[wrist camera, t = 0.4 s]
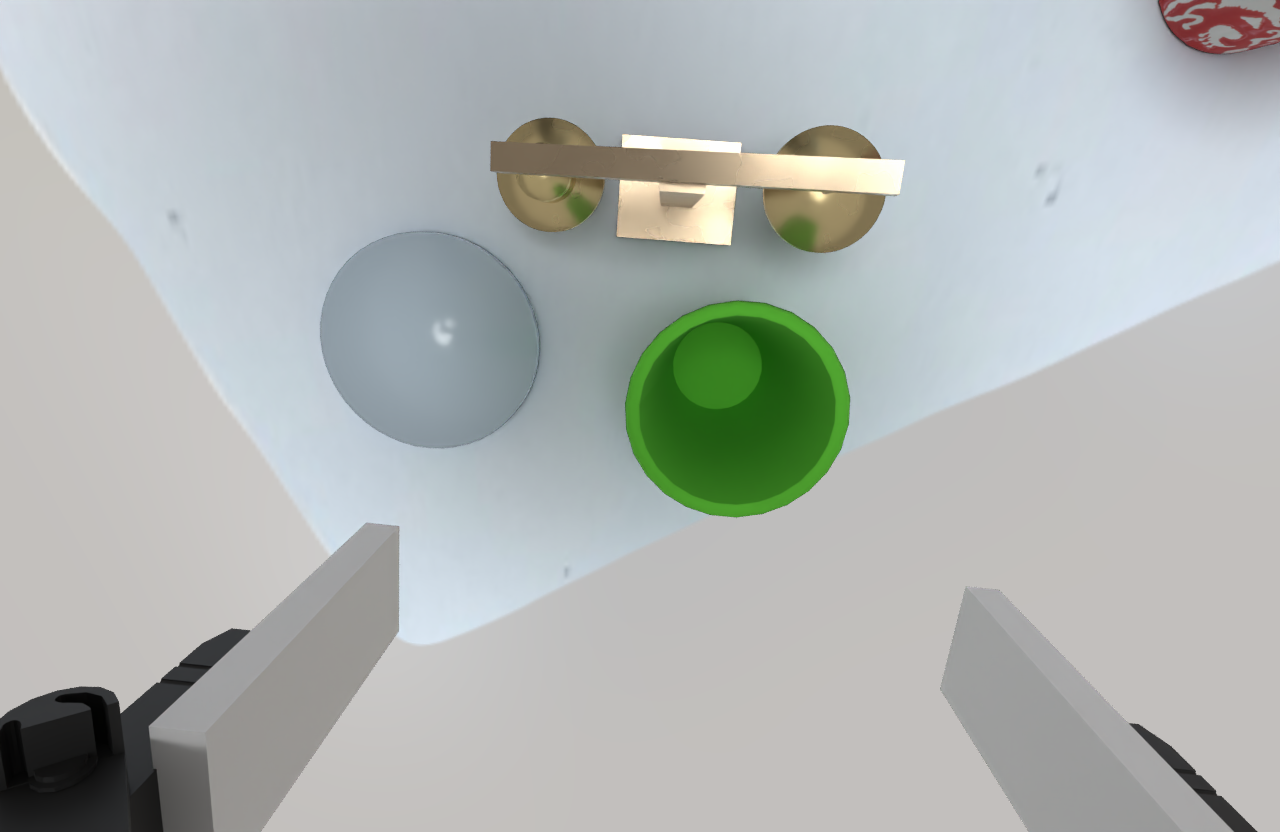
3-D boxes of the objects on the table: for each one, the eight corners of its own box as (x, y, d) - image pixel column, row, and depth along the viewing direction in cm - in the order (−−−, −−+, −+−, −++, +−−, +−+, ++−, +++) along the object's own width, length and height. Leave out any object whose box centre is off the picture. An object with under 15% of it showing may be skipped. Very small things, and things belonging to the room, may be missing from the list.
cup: (785, 447, 38) (832, 528, 27) (629, 433, 38) (616, 508, 28) (809, 290, 36) (870, 312, 25) (643, 275, 36) (634, 291, 25)
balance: (515, 228, 35) (419, 223, 21) (518, 128, 34) (416, 53, 20) (831, 252, 35) (942, 263, 21) (846, 153, 34) (974, 94, 20)
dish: (323, 223, 36) (313, 223, 35) (543, 240, 35) (539, 240, 34) (334, 434, 39) (326, 439, 38) (536, 450, 39) (533, 456, 38)
